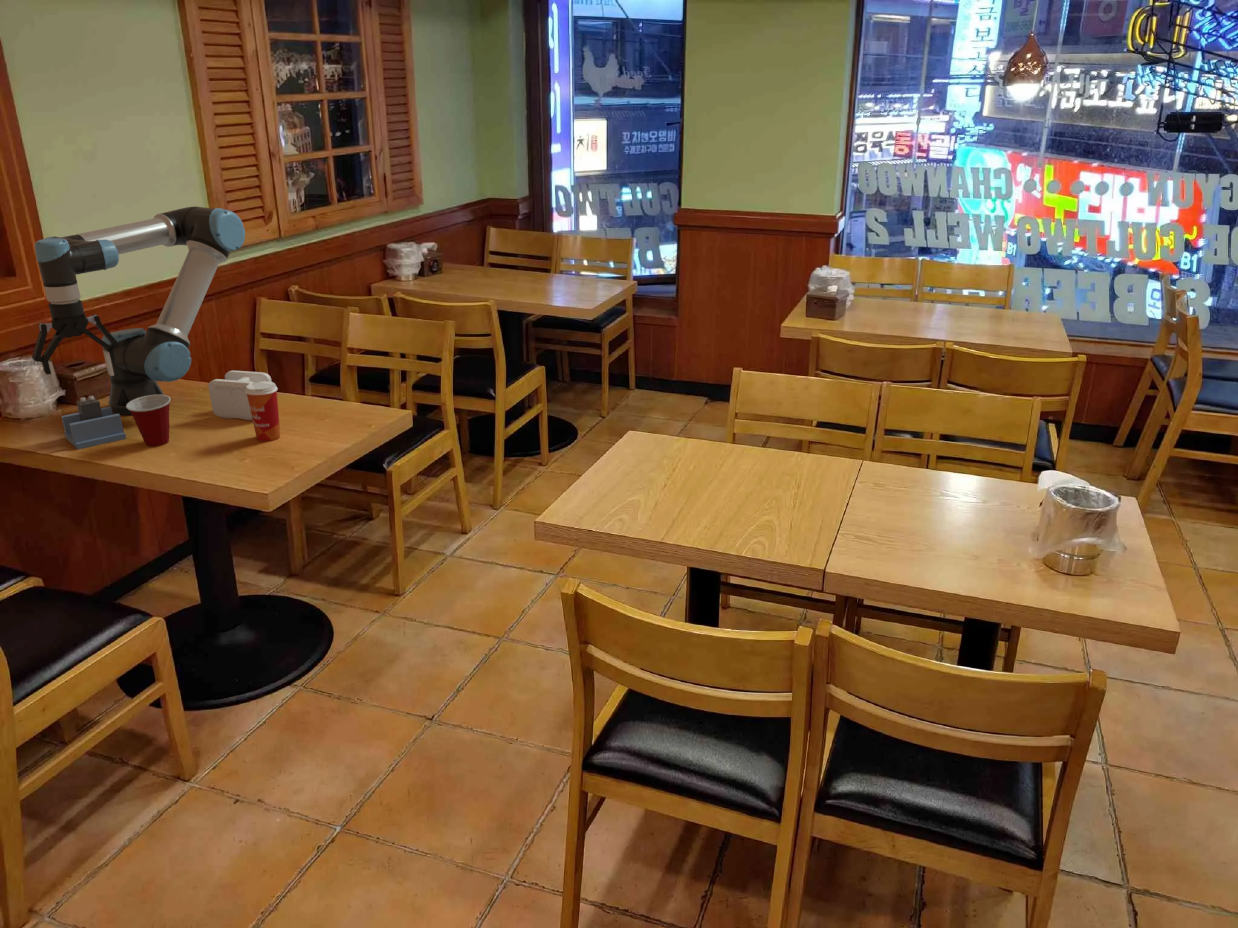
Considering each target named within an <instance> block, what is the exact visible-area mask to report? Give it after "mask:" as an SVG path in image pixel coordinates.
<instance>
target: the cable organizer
mask: <svg viewBox="0 0 1238 928" xmlns="http://www.w3.org/2000/svg"><path fill="white" fill-rule="evenodd" d="M224 374H225V375H224V379H219V378H216V379H213V380H211V381H209V383H208V391H209V397H210V402H211V404H210V405H211V408H212V412H213V414H214V415H215V416H217V417H220V418H222V419H242V420H244V421H245V420H246V421H253V420H252V415H251V411H250V406H249V402H248V397H247V394H246V393H245V390H246V386H247V385H249V384H252V383H256V382H257V383H259V382H262V381H269V382H273V381H272V378H271V375H269V374H268V373H267V372H261V371H259V372H258V371H247V370H245V371H243V370H229V371H228V372H226V373H224Z"/></svg>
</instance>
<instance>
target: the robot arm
mask: <svg viewBox="0 0 1238 928" xmlns="http://www.w3.org/2000/svg"><path fill="white" fill-rule="evenodd" d="M245 230H246V229H245V227H244V223H243V221H242V220H241V218H240V217H239V216H238V215H237V214H236V213H235V212H234V211H231V210H229V209H225V208H220V207H216V208H213V207H212V208H211V207H204V206H203V207H202V206H186V207H183V208H177V209H173V210H170V211H166V212H165V211H164V212H162V213H157V214H155V215H154V216H153V218H150V219H145V220H140V221H135V222H131V223H125V224H121V225H116V226H111V227H108V228H107V227H106V228H101V229H96V230H95V229H94V230H91V231H87V232H82V233H77V234H73V235H71V234H70V235H67V236H61V237H60V236H47V237H45V238H43V239H39V240H37V241H36V242H35V243H34V252H35V257H36V262H37V264H38V269H39V272H40V277H41V281H42V284H43V288H44V292H45V296H46V301H47V302H49V303H48V309H49V313H50V316H51V322H47V323H46V322H45V323H44V322H39V323H38V331H39V333H38V336H37V339H36V342H35V346H34V349H33V352H32V356H31V359H32V360H33V361H34V362H36V363H37V362H39V363H41V365H42V367H43V372H44V373H45V375H47V376H48V375H49V378H50V382H51V385H52V386H53V387H55V388H56V387H58V386H59V385H58V380H57V377H56V373H55V370H54V364H53V361H51V360H50V359H51V357H52V356H53V354H54V353H55V351H56V349H58V348H57V347H58V346H59V345H60V343H61V342H62V341H63V339H64V338H67V339H70V338H73V337H80V336H83V334H85V336H87V337H89V338H90V339H92V340H93V341H95V343H97V344H99V345H100V346H102V351H103V352H102V353H103V357H104V361H105V366H106V370H107V374H108V375H109V379H110V385H111V386H110V393H109V397H108V398H109V399H108V407H109V406H110V407H111V409H112V414H119V415H132V414H131V412H130V411H129V410H128V409H127V408H126V405H127V403H129V402H130V401H132V400H134V399H136V398H139V397H143V396H148V395H165V393H164V392H163V390H162V388H161V387H160V385H159V383H158V382H165V383H166V382H168V383H170V382H175V381H178V380H180V379H182V378H183V377H184V376H185V375H186V374H187V373H188V371H189V369H190V367H191V364H192V357H191V352H190V350H189V348H190V346H191V343H190V342H191V341H190V340H189V338H188V336H189V333H190V331H191V329H192V326H193V324H194V322H195V319H196V316H197V315H198V312H199V310H200V308H201V306H202V304H203V301H204V299H205V296H206V294H207V292H208V290H209V287H210V285H211V283H212V281H213V278H214V277H215V274H216V271H217V270H218V267H219V265H220V264H222V263H223V264H224V263H226V262H227V260H228V258H229V256H230V255H231V254H230V253H231V252H234V251H237V250H239V249H240V248H242V247H243V245H244V242H245V239H246V231H245ZM158 246H164V247H166V248H168V247H169V248H170V247H171V248H172V247H174V246H187V249H188V252H187V255H186V256H185V259H184V261H183V264H182V266H181V268H180V270H179V272H178V274H177V276H176V279H175V280H174V283H173V286H172V288H171V290H170V291H169V295H168V297H167V299H166V301H165V303H164V306H163V308H162V310H161V312H160V315H159V317H158V319H157V322H156V323H155V324H152V325H150V326H148V327H147V329H144V328H142V327H139V328H137V327H136V328H134V327H133V328H128V329H127V328H126V329H121V330H117V331H113V332H112V331H111V332H110V331H108V329H107V328H106V327H105V325H104V324H103V323H102V321H101V319H100V316H99V315H97V314H95V313H94V314H92V315H91V316H88V317H87V316H86V314H85V310H84V305H83V301H82V300H81V299H80V298H82V297H81V296H82V295H81V292H80V289H79V284H78V280H77V275H81V274H87V273H92V272H97V271H99V272H100V271H103V270H104V271H107V270H108V269H113V268H115V267H117V265H118V264H119V261H120V256H119V255H123V254H126V253H132V252H135V251H141V250H145V249H149V248H154V247H158ZM89 323H91V324H92V325H95V327H96V328H97V329H98V330H99V331H100V332H101V334H102V335H103V336H102V338H99V336H97V335H96V334H94V333H93V332H91V331H90V330H88V329H87V326H88V324H89ZM51 329H53V330H55V333H54V335H53V338H52V339H51V341H50V342H49V343H48V345H47V347H46V348H45V349H44V346H45V343H46V340H47V336H48V333H49V332H50V330H51ZM43 349H44V352H43Z"/></svg>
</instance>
